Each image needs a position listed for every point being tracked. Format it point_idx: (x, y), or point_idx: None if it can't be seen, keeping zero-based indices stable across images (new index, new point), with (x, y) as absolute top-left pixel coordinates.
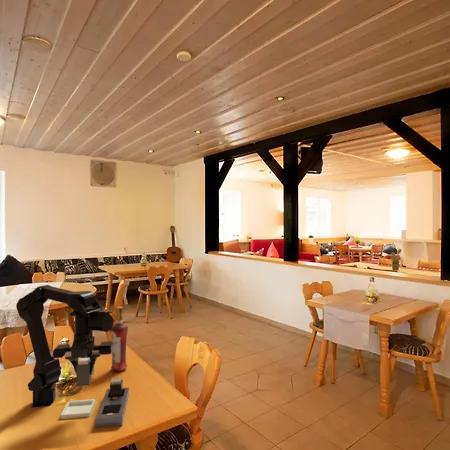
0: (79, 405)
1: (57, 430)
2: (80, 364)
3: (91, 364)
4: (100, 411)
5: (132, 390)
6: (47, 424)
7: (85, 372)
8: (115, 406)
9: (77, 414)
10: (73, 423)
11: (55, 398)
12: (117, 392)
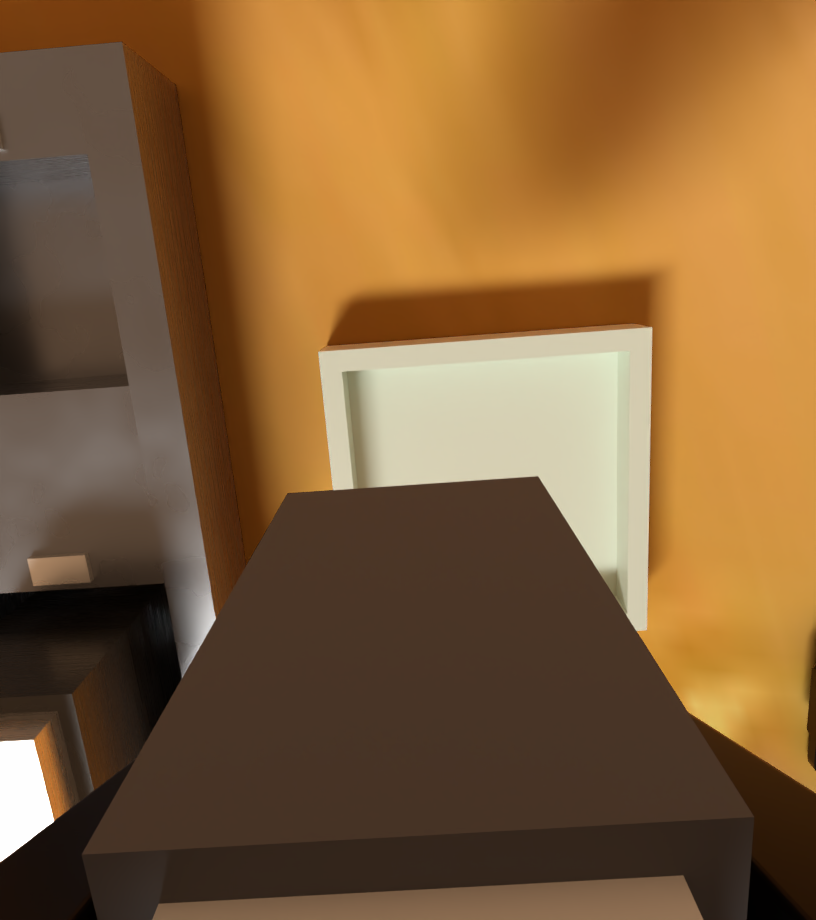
0: None
1: (607, 113)
2: (550, 894)
3: (25, 909)
4: (128, 236)
5: None
6: (753, 253)
7: (318, 623)
8: (6, 393)
9: (458, 342)
10: (470, 246)
11: (808, 731)
12: (26, 637)
